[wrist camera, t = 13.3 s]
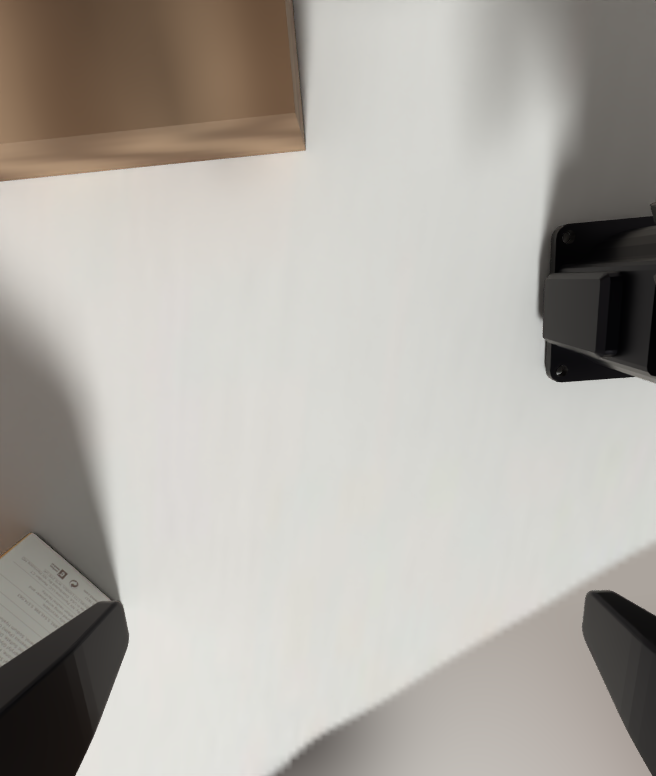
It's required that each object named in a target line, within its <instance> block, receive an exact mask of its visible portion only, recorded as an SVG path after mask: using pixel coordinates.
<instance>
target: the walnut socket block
mask: <svg viewBox="0 0 656 776" xmlns="http://www.w3.org/2000/svg"><path fill="white" fill-rule="evenodd" d="M303 150H306V149H305V138H304V126H303V115H302V103H301V92H300V81H299V69H298V58H297V46H296V35H295V23H294V12H293V1H292V0H0V181H8V180H18V179H28V178H38V177H48V176H58V175H67V174H77V173H87V172H97V171H107V170H117V169H126V168H136V167H146V166H156V165H166V164H176V163H185V162H195V161H205V160H215V159H225V158H235V157H244V156H254V155H264V154H274V153H284V152H293V151H303Z"/></svg>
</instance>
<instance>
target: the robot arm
mask: <svg viewBox="0 0 656 776" xmlns="http://www.w3.org/2000/svg"><path fill="white" fill-rule="evenodd" d="M650 206H651V210H652V214H653V216H650V217H639V218H628V219H617V220H606V221H595V222H584V223H573V224H567V225H563V226H560V227H558V228H557V229H556V230H555V231H554V233H553V234H552V239H551V260H550V275H549V276H548V277H547V278H546V279H545V289H544V314H543V338H544V339H545V340H546V341H547V353H546V374H547V376H548V377H549V378H551V379H552V380H554V381H556V382H571V381H585V380H599V379H612V378H626V377H638V378H641V379H644V380H647V381H650V382H653V383H656V202H654V203H652V204H651V205H650ZM565 232H568V233H569V234H570V240H569V242H568V243H565V242H564V241H563V239H562V237H563V234H564V233H565ZM561 365H562V366H563V371H562V372H561V373H560V374H558V375H557V374H556V369H557V368H558V367H559V366H561ZM582 631H583V635H584V639H585V641H586V644H587V646H588V648H589V650H590V652H591V654H592V657H593V659H594V661H595V663H596V665H597V667H598V670H599V672H600V674H601V676H602V678H603V680H604V683H605V685H606V687H607V689H608V691H609V693H610V695H611V698H612V700H613V702H614V704H615V706H616V709H617V711H618V713H619V715H620V717H621V719H622V721H623V723H624V725H625V727H626V729H627V731H628V733H629V735H630V737H631V739H632V741H633V742H634V744H635V746H636V748H637V750H638V751H639V753H640V755H641V757H642V758H643V760H644V762H645V764H646V765H647V767H648V769H649V771H650V772H651V774H652V776H656V616H655V615H653V614H651V613H650V612H648V611H646V610H645V609H643V608H641V607H639V606H638V605H636V604H634V603H633V602H631V601H629V600H627V599H626V598H624V597H622V596H620V595H619V594H617V593H615V592H613V591H610V590H594V591H593V590H592V591H589V592H588V593H587V595H586V598H585V606H584V615H583V623H582ZM128 642H129V632H128V627H127V622H126V617H125V612H124V608H123V605H122V603H121V602H120V601H99V602H97V603H95V604H94V605H92V606H91V607H89V608H88V609H86V610H85V611H83V612H82V613H80V614H79V615H77V616H76V617H74V618H73V619H71V620H70V621H68V622H67V623H65V624H64V625H62V626H61V627H59V628H58V629H56V630H55V631H53V632H52V633H50V634H49V635H47V636H46V637H45V638H43V639H42V640H40V641H39V642H37V643H36V644H34V645H33V646H31V647H30V648H28V649H27V650H25V651H24V652H22V653H21V654H19V655H18V656H16V657H15V658H13V659H12V660H10V661H9V662H7V663H6V664H4V665H3V666H1V667H0V776H75V775H76V773H77V771H78V769H79V767H80V765H81V763H82V760H83V758H84V756H85V754H86V752H87V750H88V748H89V745H90V743H91V741H92V739H93V737H94V734H95V732H96V729H97V727H98V724H99V722H100V719H101V717H102V714H103V711H104V709H105V706H106V703H107V701H108V698H109V695H110V693H111V690H112V687H113V685H114V682H115V679H116V677H117V674H118V671H119V669H120V666H121V663H122V661H123V658H124V655H125V653H126V650H127V647H128Z"/></svg>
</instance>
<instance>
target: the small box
mask: <svg viewBox="0 0 656 776" xmlns="http://www.w3.org/2000/svg"><path fill="white" fill-rule="evenodd" d="M99 601H111V600H110V599H109V598H108V597H107V596H106V595H105V594H103V593H102V592H101V591H100V590H99V589H98V588H97V587H96V586H94V585H93V584H92V583H91V582H90V581H89V580H88V579H86V578H85V577H84V576H83V575H82V574H81V573H79V572H78V571H77V570H76V569H75V568H74V567H73V566H72V565H70V564H69V563H68V562H67V561H66V560H65V559H64V558H63V557H61V556H60V555H59V554H58V553H57V552H55V551H54V550H53V549H52V548H51V547H49V546H48V545H47V544H46V543H45V542H44V541H42V540H41V539H40V538H39V537H38V536H37V535H35V534H34V533H29V534H28V535H27V536H25V537H24V538H23V539H22V540H20V541H19V542H18V543H17V544H16V545H14V546H13V547H12V548H10V549H9V550H8V551H7V552H5V553H4V554H3V555H2V556H0V667H1V666H3V665H4V664H6V663H7V662H9V661H10V660H12V659H13V658H15V657H16V656H18V655H19V654H21V653H22V652H24V651H25V650H27V649H28V648H30V647H31V646H33V645H34V644H36V643H37V642H39V641H40V640H42V639H43V638H45V637H46V636H47V635H49V634H50V633H52V632H53V631H55V630H56V629H58V628H59V627H61V626H62V625H64V624H65V623H67V622H68V621H70V620H71V619H73V618H74V617H76V616H77V615H79V614H80V613H82V612H83V611H85V610H86V609H88V608H89V607H91V606H92V605H94V604H95V603H97V602H99Z"/></svg>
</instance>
